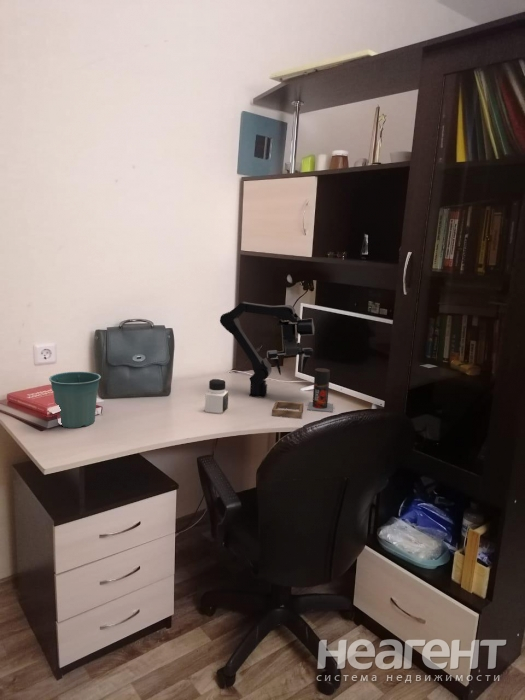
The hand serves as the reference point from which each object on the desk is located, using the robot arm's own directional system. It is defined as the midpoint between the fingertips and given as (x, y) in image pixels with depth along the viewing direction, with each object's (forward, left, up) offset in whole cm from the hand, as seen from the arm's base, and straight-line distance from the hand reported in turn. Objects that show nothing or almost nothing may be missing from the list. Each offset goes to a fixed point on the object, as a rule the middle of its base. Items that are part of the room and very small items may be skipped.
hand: (291, 373), depth 205 cm
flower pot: (-69, -47, -11) cm, 84 cm away
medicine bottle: (-26, -21, -11) cm, 35 cm away
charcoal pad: (+13, -6, -11) cm, 18 cm away
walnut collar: (+1, -16, -11) cm, 20 cm away
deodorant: (+13, -6, -11) cm, 18 cm away
